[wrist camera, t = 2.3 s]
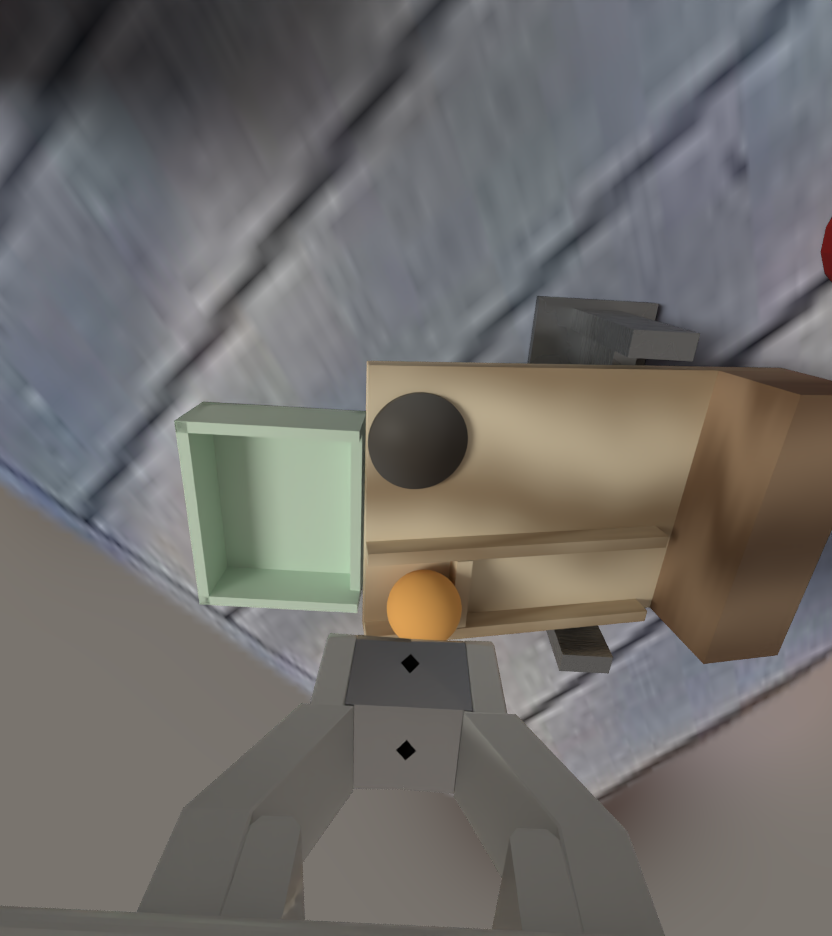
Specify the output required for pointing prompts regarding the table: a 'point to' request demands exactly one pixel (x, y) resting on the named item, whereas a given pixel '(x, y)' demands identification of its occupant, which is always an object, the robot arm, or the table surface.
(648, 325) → the stand
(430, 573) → the ball
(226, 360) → the table surface
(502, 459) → the lever
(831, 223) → the plastic cup
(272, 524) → the tray
